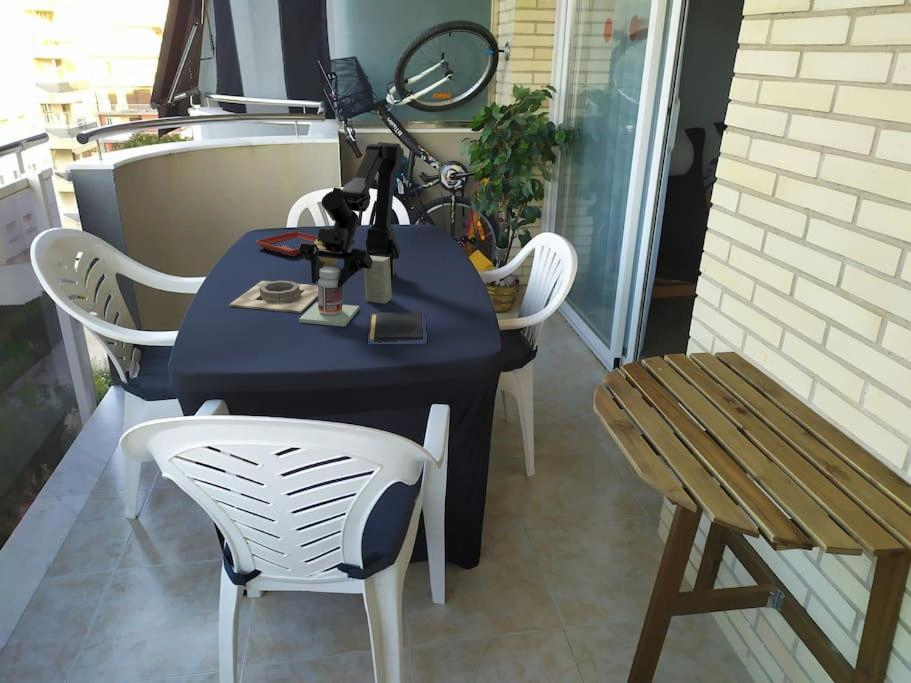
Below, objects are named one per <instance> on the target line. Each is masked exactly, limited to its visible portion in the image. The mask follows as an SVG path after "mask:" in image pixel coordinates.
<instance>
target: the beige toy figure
mask: <svg viewBox="0 0 911 683" xmlns="http://www.w3.org/2000/svg"><path fill="white" fill-rule="evenodd" d="M314 243H315V244H316V245H317V247H318V248H319V249H323V250H326V247H323V245H322V243H323V242H321V241H317V239H316V240H315V242H314ZM338 260H339V259H334V258H326V257H322V258H321V262H322V263H323V264H324V265H323V267H334V266H335V264H337V262H338ZM308 262H309V263H310V264H311V262H310V261H308ZM323 267H322V268H323Z"/></svg>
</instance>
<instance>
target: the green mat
mask: <svg viewBox="0 0 911 683" xmlns="http://www.w3.org/2000/svg"><path fill="white" fill-rule="evenodd" d="M358 311H360V306H359V305H352V304H351V305H350V304H342V312H340V313H338V314H334V315H326V314H322V313H320V312H319V310H318V301H317V302H315V303H314V304H312V306H311V307H310V308H308V309H307V310H306V311H305V312H304V313H303V314H302V315H301V317H299V320H298V322H299V323H303V324H312V325H313V324H314V325H325V326H335V327H344V326H345V327H346V326H347V325H348V324H349V323H350V321H351V320H352V319H353V318H354V316H356V314H357V313H358Z"/></svg>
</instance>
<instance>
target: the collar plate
mask: <svg viewBox="0 0 911 683" xmlns="http://www.w3.org/2000/svg"><path fill="white" fill-rule="evenodd" d="M260 299H261V300H260ZM316 299H318V284H317V285H316V284H306V283H305V284H304V283H296V282H295V281H290V280H289V281H288V280H276V281H275V280H274V281H269V280H260V281H259V282H258V283H257V284H255V285H253V287H251V288H250V289H249V290H247V291H246V292H244V293H243V294H241V295H240V296H239V297H238V298H236V299H235V300H233V301H232V302H231V303H229V305H228V306H229V308H231V307H232V308H240V309H241V308H243V309H253V310H261V311H262V310H264V311H273V310H274V311H275V312H285V313H294V314H295V313H298V314H302V313H303V312H304V311H305V310H306V309H307V308H308V307H309V306H310V305H311V304H312V303H313V302H315V300H316Z"/></svg>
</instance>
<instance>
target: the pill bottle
mask: <svg viewBox="0 0 911 683" xmlns="http://www.w3.org/2000/svg"><path fill="white" fill-rule="evenodd" d="M340 275H341V269H340V268H338V267H336V266H335V267H334V266H333V267H323V268H320V270H319V277H320V278H319V279H317V285H318V297H317V302H318V310H319V312H320V313H322V314H326V315H334V314H338V313H340V312H342V305H343V285H342V286H341V287H338V281H339V278H340Z"/></svg>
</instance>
